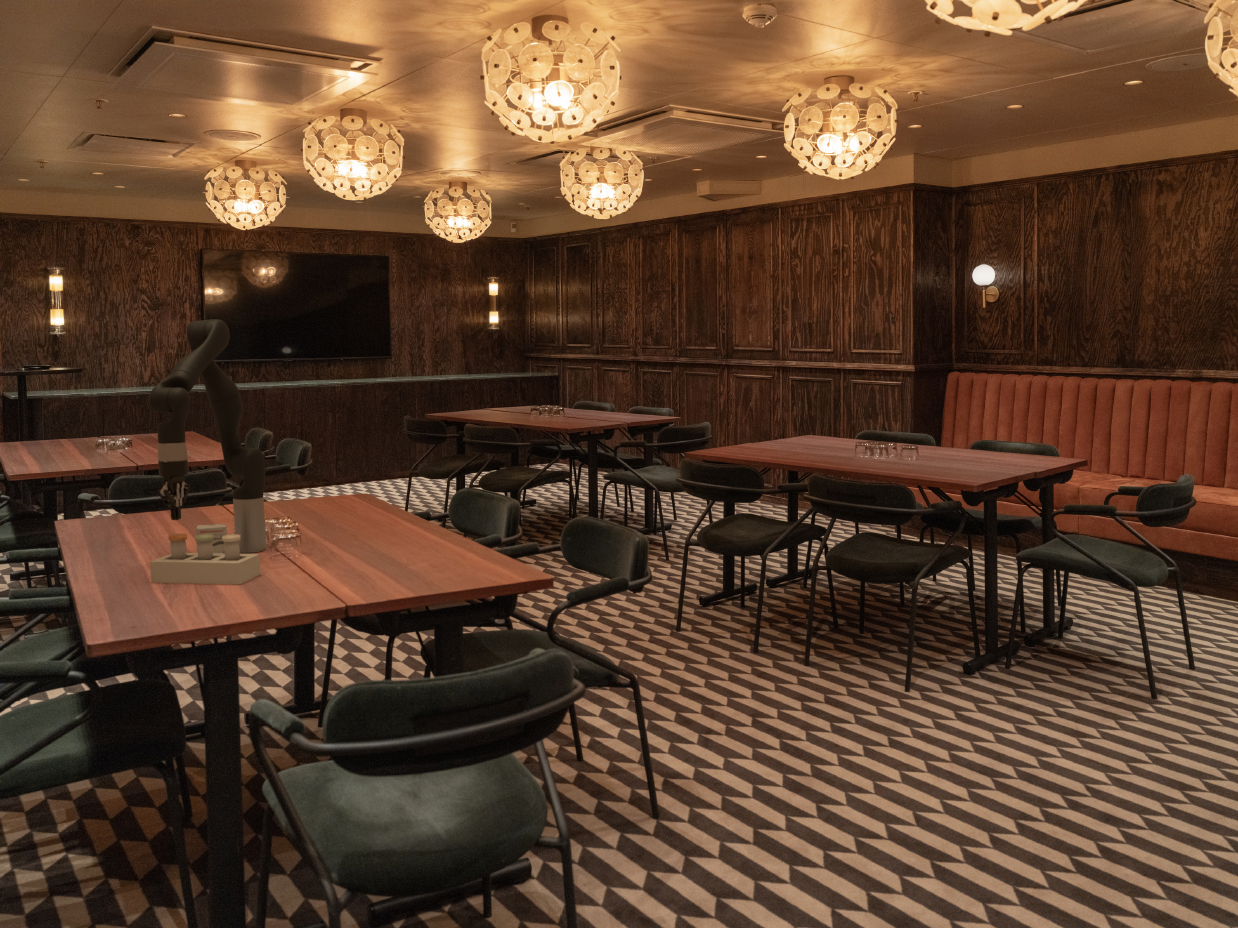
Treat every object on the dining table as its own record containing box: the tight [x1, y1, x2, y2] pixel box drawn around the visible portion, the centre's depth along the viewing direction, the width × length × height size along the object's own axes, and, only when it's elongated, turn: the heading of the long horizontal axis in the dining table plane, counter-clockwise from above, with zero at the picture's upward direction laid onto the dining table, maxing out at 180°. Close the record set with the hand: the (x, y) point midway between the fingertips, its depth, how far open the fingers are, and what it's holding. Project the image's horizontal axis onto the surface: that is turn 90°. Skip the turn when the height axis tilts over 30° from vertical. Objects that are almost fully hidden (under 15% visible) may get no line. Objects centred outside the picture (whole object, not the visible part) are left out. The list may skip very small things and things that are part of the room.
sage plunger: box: [194, 534, 214, 560], centre depth 278 cm, size 5×5×8 cm
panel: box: [149, 552, 261, 586], centre depth 278 cm, size 12×26×6 cm, turn 84°
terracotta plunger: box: [167, 533, 188, 560], centre depth 278 cm, size 5×5×8 cm
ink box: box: [195, 523, 228, 553], centre depth 297 cm, size 9×5×12 cm, turn 114°
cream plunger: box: [222, 533, 241, 561], centre depth 277 cm, size 5×5×8 cm
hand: (176, 519), depth 277 cm, fingers closed
